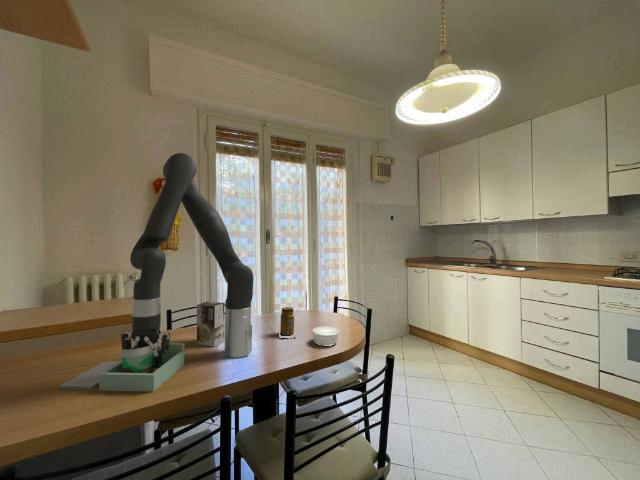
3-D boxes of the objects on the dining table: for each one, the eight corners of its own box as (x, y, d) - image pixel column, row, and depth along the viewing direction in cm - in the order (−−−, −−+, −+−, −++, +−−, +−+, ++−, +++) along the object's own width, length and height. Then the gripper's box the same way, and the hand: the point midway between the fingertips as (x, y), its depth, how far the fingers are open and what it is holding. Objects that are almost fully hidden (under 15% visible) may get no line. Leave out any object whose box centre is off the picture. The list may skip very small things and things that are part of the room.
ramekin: (331, 350, 108) (331, 336, 108) (306, 344, 113) (307, 331, 113) (343, 341, 118) (343, 329, 118) (320, 336, 123) (320, 324, 123)
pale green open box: (184, 364, 94) (184, 343, 94) (153, 391, 77) (154, 365, 77) (139, 363, 94) (139, 342, 94) (99, 390, 77) (99, 365, 77)
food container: (137, 387, 78) (138, 352, 78) (119, 385, 80) (119, 350, 80) (169, 368, 90) (170, 337, 91) (153, 366, 92) (153, 335, 92)
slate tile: (131, 364, 93) (131, 361, 93) (91, 389, 77) (91, 386, 77) (104, 363, 93) (104, 361, 93) (59, 389, 77) (59, 386, 77)
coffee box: (224, 341, 115) (225, 302, 115) (214, 347, 109) (214, 306, 109) (207, 338, 118) (207, 300, 118) (195, 344, 112) (196, 303, 112)
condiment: (293, 332, 128) (294, 306, 128) (296, 338, 120) (296, 310, 120) (278, 333, 127) (278, 306, 127) (279, 339, 119) (279, 311, 119)
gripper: (176, 310, 89) (175, 362, 89) (131, 309, 89) (130, 361, 89) (163, 316, 81) (161, 373, 81) (114, 315, 81) (112, 372, 81)
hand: (145, 367), depth 85 cm, fingers open, 6 cm apart
